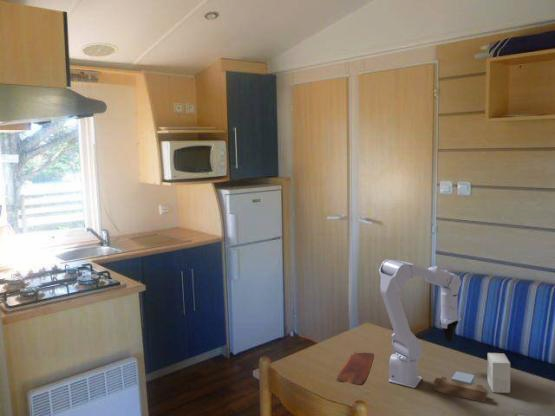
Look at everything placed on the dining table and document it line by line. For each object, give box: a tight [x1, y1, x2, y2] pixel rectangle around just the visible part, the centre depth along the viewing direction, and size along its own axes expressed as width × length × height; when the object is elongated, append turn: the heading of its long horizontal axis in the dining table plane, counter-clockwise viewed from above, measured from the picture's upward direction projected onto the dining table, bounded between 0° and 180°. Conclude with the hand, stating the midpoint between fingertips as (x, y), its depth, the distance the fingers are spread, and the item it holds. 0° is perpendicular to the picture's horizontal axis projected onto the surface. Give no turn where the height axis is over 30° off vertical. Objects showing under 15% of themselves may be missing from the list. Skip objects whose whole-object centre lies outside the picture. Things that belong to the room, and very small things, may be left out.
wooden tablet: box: [336, 352, 375, 386], centre depth 185 cm, size 27×10×2 cm, turn 158°
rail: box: [433, 376, 487, 403], centre depth 163 cm, size 16×4×4 cm, turn 56°
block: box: [451, 371, 476, 386], centre depth 165 cm, size 6×6×4 cm
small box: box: [486, 352, 511, 394], centre depth 165 cm, size 8×6×10 cm
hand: (449, 340), depth 180 cm, fingers closed
